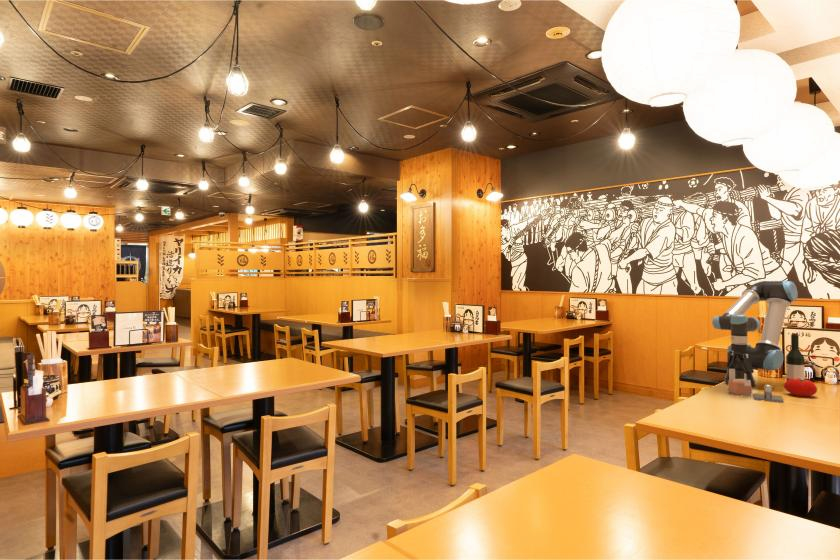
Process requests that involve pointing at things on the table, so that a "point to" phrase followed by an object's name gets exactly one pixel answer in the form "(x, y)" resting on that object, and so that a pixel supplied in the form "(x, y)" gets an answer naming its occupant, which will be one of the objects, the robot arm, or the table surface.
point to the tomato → (800, 387)
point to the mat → (740, 394)
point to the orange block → (738, 387)
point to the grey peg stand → (768, 395)
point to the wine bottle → (794, 360)
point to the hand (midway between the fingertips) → (739, 383)
